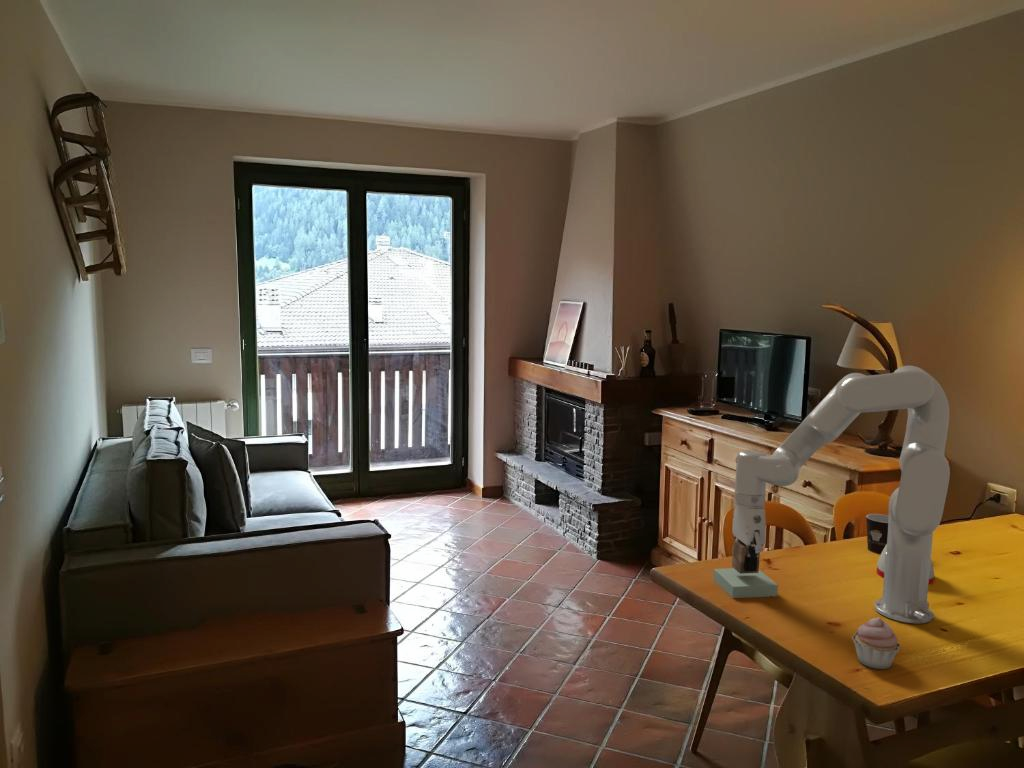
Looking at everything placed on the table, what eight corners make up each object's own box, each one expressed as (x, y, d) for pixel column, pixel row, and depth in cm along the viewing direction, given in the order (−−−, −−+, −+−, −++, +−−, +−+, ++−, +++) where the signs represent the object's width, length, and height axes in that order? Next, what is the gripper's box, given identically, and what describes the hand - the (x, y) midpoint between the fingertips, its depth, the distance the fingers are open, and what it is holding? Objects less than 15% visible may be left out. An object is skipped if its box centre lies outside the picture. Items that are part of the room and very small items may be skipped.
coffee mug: (857, 547, 229) (859, 515, 228) (880, 544, 231) (882, 513, 230) (886, 560, 218) (889, 527, 217) (910, 557, 220) (913, 524, 219)
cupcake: (884, 678, 151) (889, 631, 150) (841, 659, 159) (844, 614, 157) (908, 665, 157) (912, 620, 155) (865, 648, 164) (868, 604, 163)
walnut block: (758, 572, 193) (760, 546, 192) (740, 573, 193) (741, 547, 192) (749, 565, 198) (751, 540, 197) (731, 566, 198) (733, 540, 197)
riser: (777, 596, 191) (777, 584, 191) (732, 598, 189) (732, 586, 189) (755, 578, 203) (756, 567, 202) (713, 579, 201) (713, 569, 201)
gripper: (779, 508, 185) (774, 579, 188) (748, 489, 202) (744, 554, 204) (750, 509, 184) (746, 580, 187) (722, 490, 201) (718, 555, 203)
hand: (745, 566), depth 195 cm, fingers closed on walnut block, 5 cm apart
